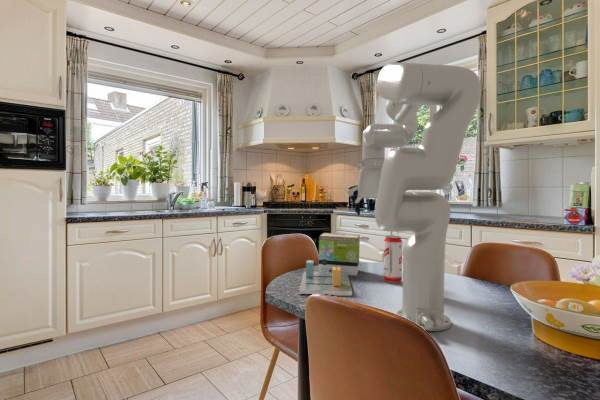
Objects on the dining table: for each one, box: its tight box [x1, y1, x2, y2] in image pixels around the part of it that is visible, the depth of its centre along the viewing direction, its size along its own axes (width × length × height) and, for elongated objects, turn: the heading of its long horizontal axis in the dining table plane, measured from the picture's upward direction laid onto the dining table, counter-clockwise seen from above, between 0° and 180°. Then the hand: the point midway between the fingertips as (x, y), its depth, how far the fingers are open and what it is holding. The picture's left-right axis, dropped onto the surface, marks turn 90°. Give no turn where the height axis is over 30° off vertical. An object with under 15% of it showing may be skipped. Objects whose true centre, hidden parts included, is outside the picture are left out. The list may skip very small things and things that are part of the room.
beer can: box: [382, 234, 403, 285], centre depth 121 cm, size 6×6×16 cm
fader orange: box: [332, 267, 341, 286], centre depth 111 cm, size 4×2×5 cm, turn 176°
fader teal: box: [305, 259, 315, 277], centre depth 122 cm, size 4×2×5 cm, turn 176°
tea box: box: [318, 232, 361, 277], centre depth 135 cm, size 15×10×15 cm
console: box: [298, 270, 353, 297], centre depth 117 cm, size 24×16×2 cm, turn 176°
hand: (372, 215), depth 119 cm, fingers open, 9 cm apart
